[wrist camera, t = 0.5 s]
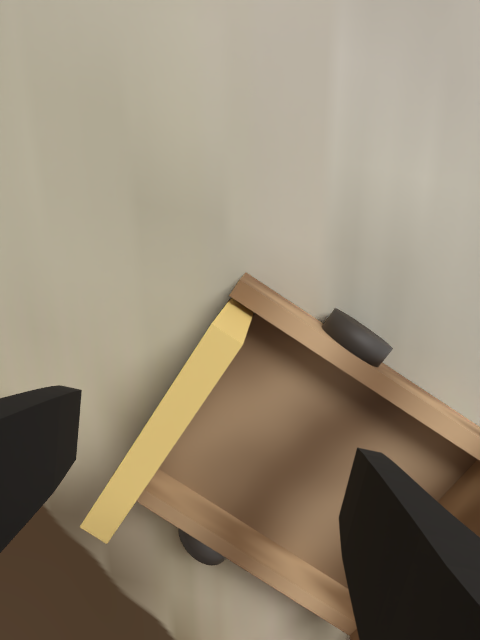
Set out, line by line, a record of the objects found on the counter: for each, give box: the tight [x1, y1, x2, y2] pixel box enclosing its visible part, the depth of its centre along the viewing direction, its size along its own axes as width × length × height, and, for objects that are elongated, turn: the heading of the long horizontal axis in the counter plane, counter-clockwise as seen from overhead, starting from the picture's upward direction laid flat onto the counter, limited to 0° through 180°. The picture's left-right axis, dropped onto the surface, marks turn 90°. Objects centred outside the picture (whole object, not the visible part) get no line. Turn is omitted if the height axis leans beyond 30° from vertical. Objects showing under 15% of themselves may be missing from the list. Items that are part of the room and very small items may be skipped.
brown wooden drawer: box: [109, 273, 480, 640], centre depth 18 cm, size 15×14×5 cm
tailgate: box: [80, 298, 254, 544], centre depth 17 cm, size 1×10×6 cm, turn 147°
